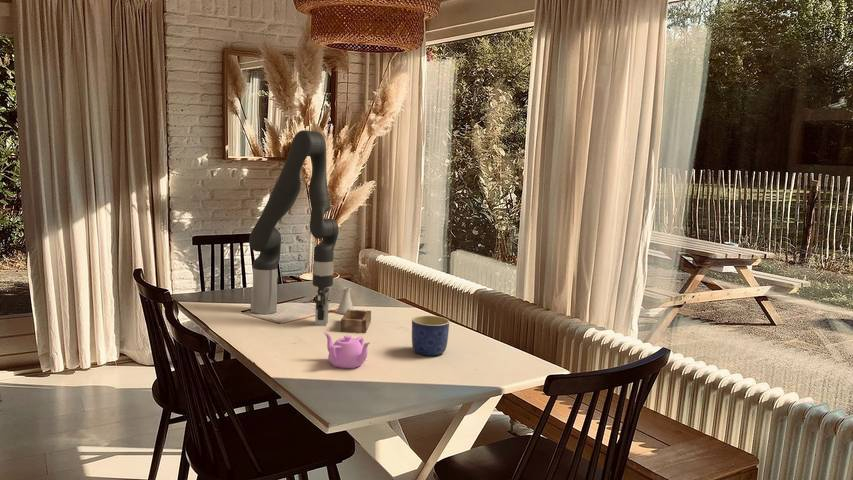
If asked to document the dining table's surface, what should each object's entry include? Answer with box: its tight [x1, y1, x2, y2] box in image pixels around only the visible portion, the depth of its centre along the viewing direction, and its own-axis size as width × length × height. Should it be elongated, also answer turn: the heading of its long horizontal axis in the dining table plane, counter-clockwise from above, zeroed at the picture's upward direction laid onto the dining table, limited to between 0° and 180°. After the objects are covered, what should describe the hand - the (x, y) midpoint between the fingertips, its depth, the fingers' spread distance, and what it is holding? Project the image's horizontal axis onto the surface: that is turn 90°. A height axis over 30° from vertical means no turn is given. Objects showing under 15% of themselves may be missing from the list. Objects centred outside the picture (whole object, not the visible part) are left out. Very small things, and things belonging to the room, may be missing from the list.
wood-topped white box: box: [314, 299, 330, 327], centre depth 260 cm, size 4×4×9 cm
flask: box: [336, 286, 355, 315], centre depth 279 cm, size 7×7×10 cm
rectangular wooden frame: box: [340, 309, 372, 334], centre depth 259 cm, size 9×15×4 cm, turn 177°
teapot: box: [323, 331, 371, 369], centre depth 217 cm, size 12×14×9 cm
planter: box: [411, 315, 450, 356], centre depth 233 cm, size 12×12×11 cm
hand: (321, 318), depth 261 cm, fingers closed on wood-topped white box, 4 cm apart
